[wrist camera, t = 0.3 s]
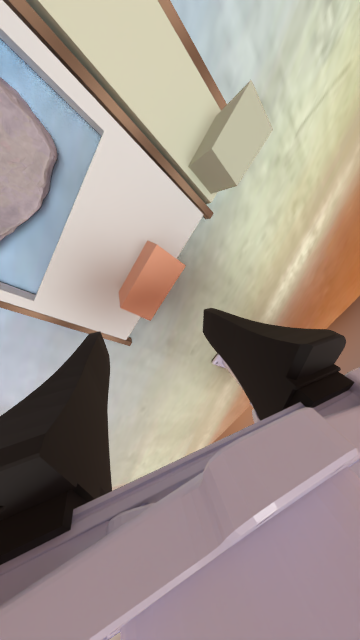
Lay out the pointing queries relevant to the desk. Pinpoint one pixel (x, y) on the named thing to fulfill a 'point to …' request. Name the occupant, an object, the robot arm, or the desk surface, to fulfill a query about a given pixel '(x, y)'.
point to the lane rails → (115, 115)
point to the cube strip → (105, 217)
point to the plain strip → (162, 88)
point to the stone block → (22, 160)
